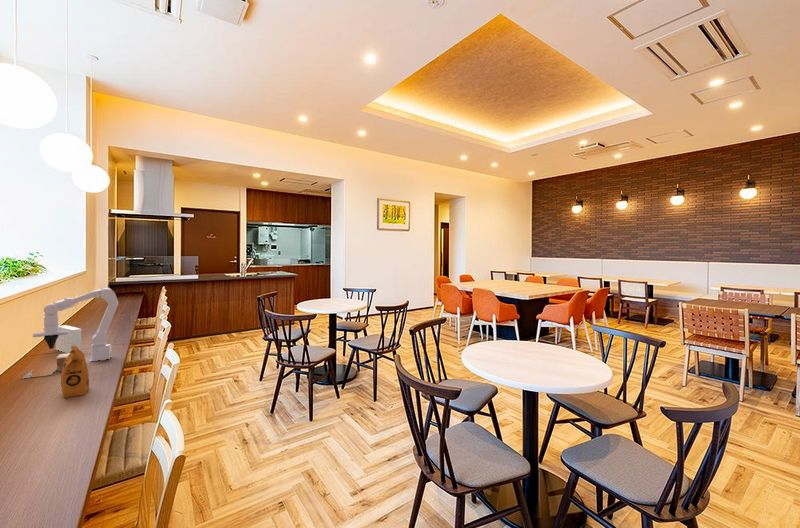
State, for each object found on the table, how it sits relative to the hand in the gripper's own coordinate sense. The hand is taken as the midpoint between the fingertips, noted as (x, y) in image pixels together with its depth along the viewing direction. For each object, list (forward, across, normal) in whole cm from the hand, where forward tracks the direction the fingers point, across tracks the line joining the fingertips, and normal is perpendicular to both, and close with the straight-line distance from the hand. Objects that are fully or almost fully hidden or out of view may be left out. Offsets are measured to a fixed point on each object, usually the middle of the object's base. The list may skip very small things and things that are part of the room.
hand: (51, 348), depth 195 cm
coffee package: (+11, -21, +52) cm, 57 cm away
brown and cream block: (+10, -7, +9) cm, 16 cm away
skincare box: (+11, 0, -32) cm, 34 cm away
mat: (+10, +1, +9) cm, 14 cm away
